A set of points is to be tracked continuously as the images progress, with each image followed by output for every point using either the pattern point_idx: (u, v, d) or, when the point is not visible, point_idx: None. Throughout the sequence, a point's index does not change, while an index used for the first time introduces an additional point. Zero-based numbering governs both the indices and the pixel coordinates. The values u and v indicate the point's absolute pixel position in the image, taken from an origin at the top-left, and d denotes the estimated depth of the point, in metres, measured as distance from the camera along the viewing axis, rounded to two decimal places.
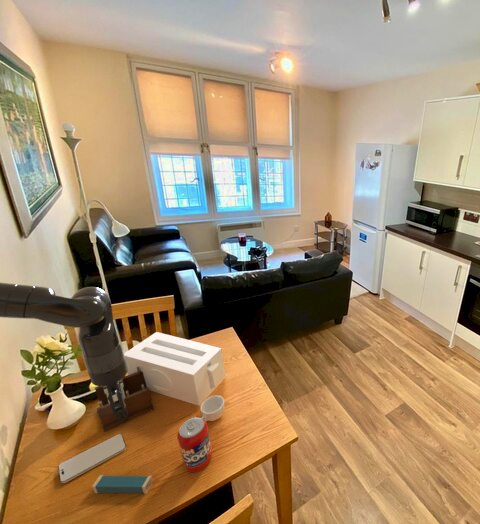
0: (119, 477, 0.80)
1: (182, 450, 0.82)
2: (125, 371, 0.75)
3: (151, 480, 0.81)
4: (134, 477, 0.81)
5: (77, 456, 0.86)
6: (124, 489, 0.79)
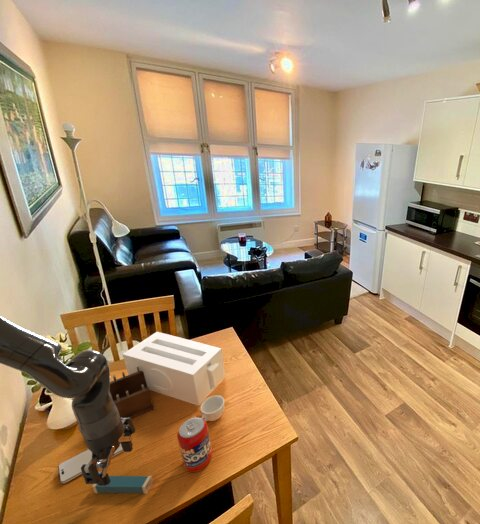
0: (119, 477, 0.80)
1: (182, 450, 0.82)
2: (111, 441, 0.71)
3: (151, 480, 0.81)
4: (134, 477, 0.81)
5: (77, 456, 0.86)
6: (124, 489, 0.79)
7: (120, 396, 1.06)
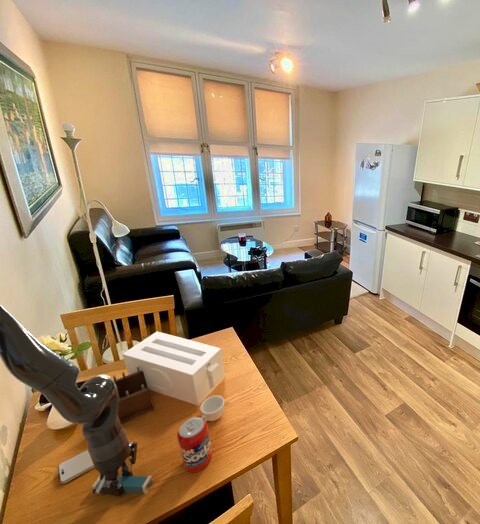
0: None
1: (182, 450, 0.82)
2: (119, 463, 0.74)
3: (151, 480, 0.81)
4: (134, 477, 0.81)
5: (77, 456, 0.86)
6: (124, 489, 0.79)
7: (120, 396, 1.06)
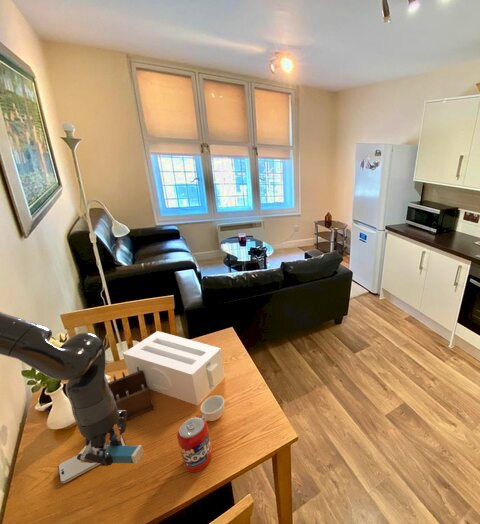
0: None
1: (182, 450, 0.82)
2: (106, 428, 0.69)
3: (141, 450, 0.77)
4: (123, 446, 0.76)
5: None
6: (112, 459, 0.74)
7: (120, 396, 1.06)
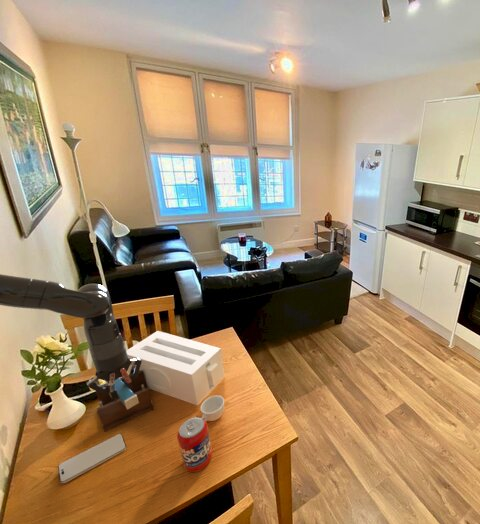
0: (122, 383, 0.89)
1: (182, 450, 0.82)
2: (107, 368, 0.81)
3: (136, 400, 0.86)
4: (128, 390, 0.87)
5: (77, 456, 0.86)
6: (118, 396, 0.87)
7: None
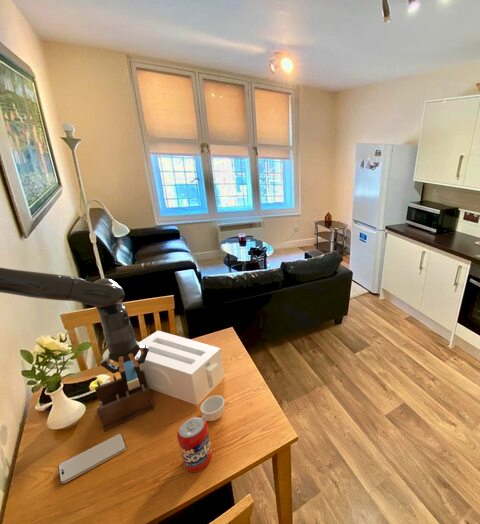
0: (132, 366, 1.02)
1: (182, 450, 0.82)
2: (115, 351, 0.93)
3: (137, 383, 0.97)
4: (134, 372, 0.99)
5: (77, 456, 0.86)
6: (126, 376, 0.99)
7: (120, 396, 1.06)
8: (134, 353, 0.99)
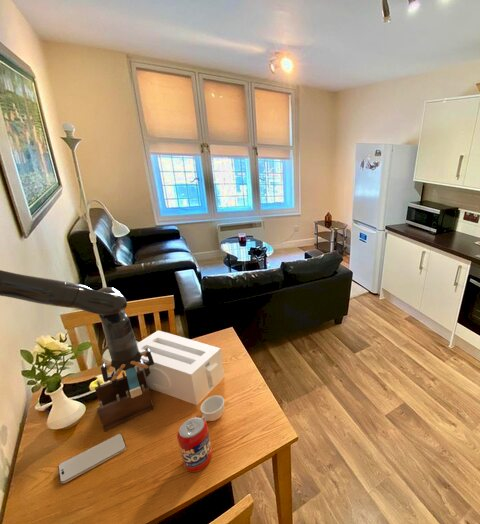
0: (135, 374, 1.04)
1: (182, 450, 0.82)
2: (118, 359, 0.94)
3: (139, 391, 0.98)
4: (136, 380, 1.01)
5: (77, 456, 0.86)
6: None
7: (120, 396, 1.06)
8: (136, 359, 1.00)
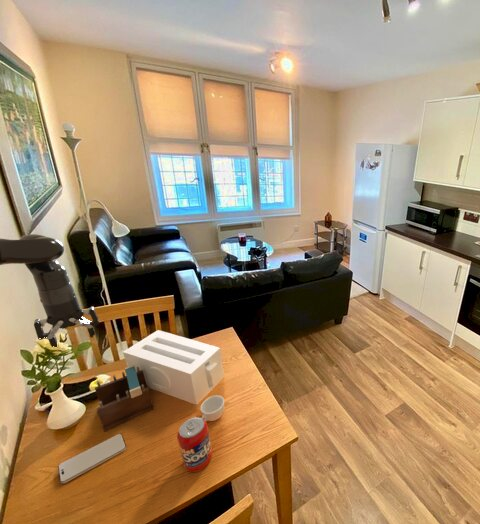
0: (135, 374, 1.04)
1: (182, 450, 0.82)
2: (52, 314, 0.86)
3: (139, 391, 0.98)
4: (136, 380, 1.01)
5: (77, 456, 0.86)
6: None
7: (120, 396, 1.06)
8: (77, 316, 0.91)
